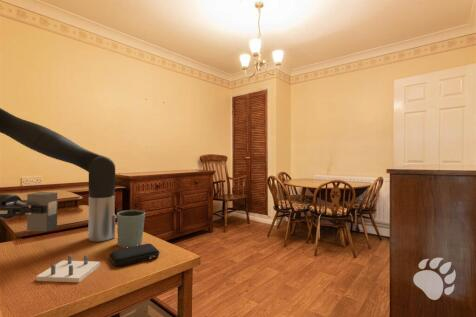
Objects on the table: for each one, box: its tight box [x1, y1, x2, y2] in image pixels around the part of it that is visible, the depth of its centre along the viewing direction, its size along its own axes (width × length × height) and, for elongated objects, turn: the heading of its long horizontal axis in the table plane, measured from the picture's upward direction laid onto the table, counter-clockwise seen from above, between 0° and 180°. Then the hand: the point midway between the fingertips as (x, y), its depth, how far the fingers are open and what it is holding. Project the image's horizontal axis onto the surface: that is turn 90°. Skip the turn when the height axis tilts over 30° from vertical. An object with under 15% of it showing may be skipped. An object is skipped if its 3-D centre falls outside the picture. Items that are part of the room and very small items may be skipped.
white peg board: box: [35, 254, 101, 283], centre depth 73 cm, size 10×12×4 cm
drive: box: [26, 191, 58, 232], centre depth 77 cm, size 4×6×11 cm
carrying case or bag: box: [108, 243, 161, 268], centre depth 84 cm, size 11×3×15 cm
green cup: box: [116, 209, 146, 248], centre depth 96 cm, size 10×10×12 cm
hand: (51, 208), depth 77 cm, fingers closed on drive, 4 cm apart
